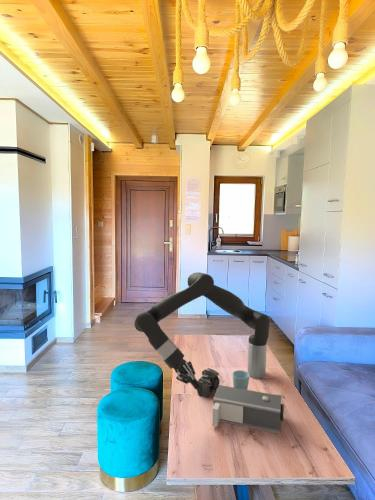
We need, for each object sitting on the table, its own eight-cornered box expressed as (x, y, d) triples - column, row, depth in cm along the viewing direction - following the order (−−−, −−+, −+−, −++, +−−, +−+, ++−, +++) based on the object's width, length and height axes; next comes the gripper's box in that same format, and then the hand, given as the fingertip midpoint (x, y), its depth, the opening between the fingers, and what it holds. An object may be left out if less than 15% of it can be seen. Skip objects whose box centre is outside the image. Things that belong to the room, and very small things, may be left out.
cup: (235, 401, 141) (236, 379, 140) (229, 392, 149) (230, 371, 148) (251, 399, 143) (252, 377, 142) (244, 390, 150) (245, 369, 149)
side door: (215, 416, 129) (216, 400, 128) (242, 422, 125) (243, 405, 125) (212, 425, 123) (212, 408, 122) (240, 431, 120) (241, 414, 119)
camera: (217, 399, 143) (217, 378, 142) (195, 396, 145) (196, 375, 144) (220, 384, 156) (220, 364, 155) (200, 381, 158) (200, 362, 157)
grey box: (218, 404, 139) (219, 383, 138) (283, 417, 130) (284, 394, 129) (212, 420, 128) (213, 397, 127) (282, 434, 120) (283, 410, 119)
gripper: (170, 354, 120) (200, 391, 117) (181, 341, 132) (209, 374, 130) (157, 365, 122) (187, 402, 119) (169, 352, 135) (197, 384, 132)
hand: (198, 387), depth 125 cm, fingers closed
